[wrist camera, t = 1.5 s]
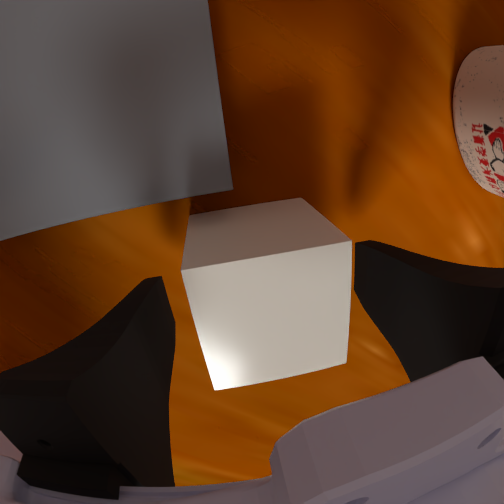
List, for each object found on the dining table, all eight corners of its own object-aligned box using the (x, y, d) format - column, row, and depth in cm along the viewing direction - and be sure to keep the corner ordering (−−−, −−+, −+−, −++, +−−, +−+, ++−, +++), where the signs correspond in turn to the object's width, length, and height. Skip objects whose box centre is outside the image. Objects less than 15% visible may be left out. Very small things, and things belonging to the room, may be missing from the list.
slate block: (8, 226, 12) (-20, 246, 9) (-17, 23, 7) (-45, 15, 5) (228, 176, 13) (233, 189, 10) (198, -56, 8) (197, -85, 6)
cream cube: (209, 310, 14) (214, 390, 10) (189, 214, 13) (181, 270, 8) (306, 292, 15) (346, 362, 10) (300, 197, 13) (351, 240, 8)
